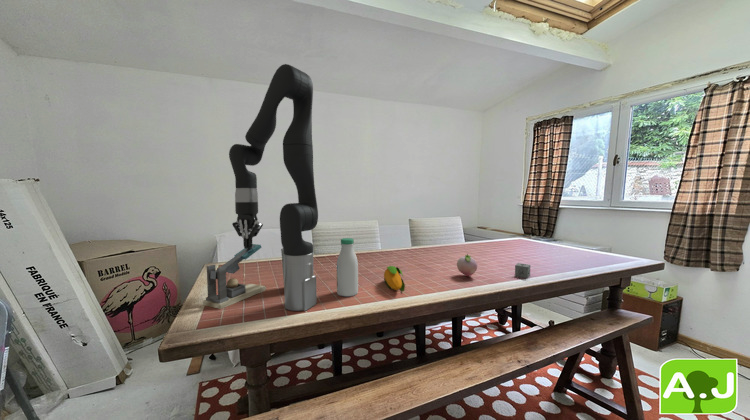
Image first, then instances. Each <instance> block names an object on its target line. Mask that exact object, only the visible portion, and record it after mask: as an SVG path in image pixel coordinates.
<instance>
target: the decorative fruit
mask: <svg viewBox="0 0 750 420" xmlns="http://www.w3.org/2000/svg"><path fill="white" fill-rule="evenodd" d="M456 267H457V270H458V271H459V272H460V273H461V274H462V275H464V276H466V277H468V278H469V277H470V276H472V275H474V274H475V272H476V271H477V269H478V264H477V261H476V259H474V258H473V257H471V255H470V254H469V253H467V254H465V256H460V258H458V260H457V262H456Z"/></svg>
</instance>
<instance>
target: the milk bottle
mask: <svg viewBox="0 0 750 420" xmlns="http://www.w3.org/2000/svg"><path fill="white" fill-rule="evenodd" d="M354 244H355V243H354V238H350V237H348V238H346V237H345V238H340V246H341V249H340V252H339V254H338V256H337V261H336V294H337V295H338V296H340V297H353V296H356V295H357V294H358V292H359V265H358V264H359V262H358V261H359V260H358V258H357V255H356V253H355V250H354Z"/></svg>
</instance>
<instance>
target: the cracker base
mask: <svg viewBox="0 0 750 420" xmlns="http://www.w3.org/2000/svg"><path fill="white" fill-rule="evenodd" d="M222 266H223V265H222ZM215 270H217V279H210V275H211V271H215ZM206 280H207V282H206V284H207V285H206V286H207V297H205V299H204V300H202V305H203V306H206V307H210V308H215V309H219V310H223V309H224V308H226V307H229V306H232V305H234V304H236V303H238V302H241V301H244V300H245V299H249V298H250V297H252V296H255V295H258V294H260V293H263V292H265V291H266V290H267V289H266V287H267V286H265V285H260V284H255V283H247V284H245V283H244V284H243V283H238V286H237V287H236V288H233V289H230V288H228V287H227V272H226V266H223V267H221V266H219V267H216V264H210V265H208V266H206Z"/></svg>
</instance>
